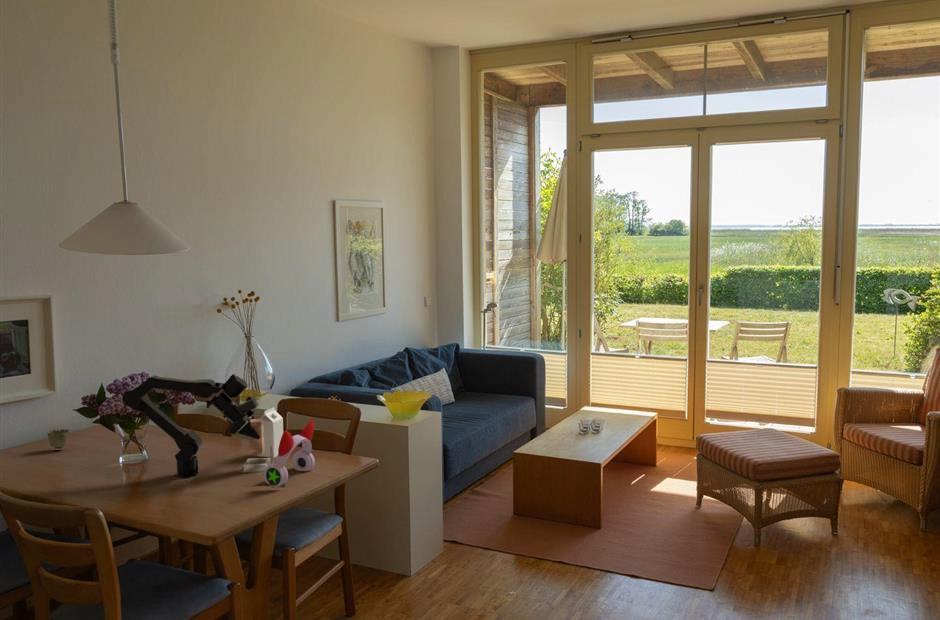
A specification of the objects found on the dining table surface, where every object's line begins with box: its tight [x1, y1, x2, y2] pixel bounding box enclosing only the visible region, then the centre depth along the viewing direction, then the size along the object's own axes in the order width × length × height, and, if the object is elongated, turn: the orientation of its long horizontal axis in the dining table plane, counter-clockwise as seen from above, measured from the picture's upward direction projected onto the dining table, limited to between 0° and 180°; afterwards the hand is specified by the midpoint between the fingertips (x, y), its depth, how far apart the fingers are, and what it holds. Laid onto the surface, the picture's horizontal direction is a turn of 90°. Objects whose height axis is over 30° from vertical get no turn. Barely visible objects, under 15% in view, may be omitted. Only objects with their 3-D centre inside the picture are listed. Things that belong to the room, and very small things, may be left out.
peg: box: [248, 418, 264, 456], centre depth 275 cm, size 4×4×12 cm
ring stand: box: [232, 446, 275, 476], centre depth 275 cm, size 12×12×10 cm
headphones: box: [263, 419, 316, 488], centre depth 266 cm, size 20×10×20 cm, turn 159°
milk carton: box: [257, 406, 284, 458], centre depth 293 cm, size 7×7×19 cm
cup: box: [47, 428, 69, 450], centre depth 307 cm, size 8×7×8 cm
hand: (260, 436), depth 275 cm, fingers closed on peg, 4 cm apart
